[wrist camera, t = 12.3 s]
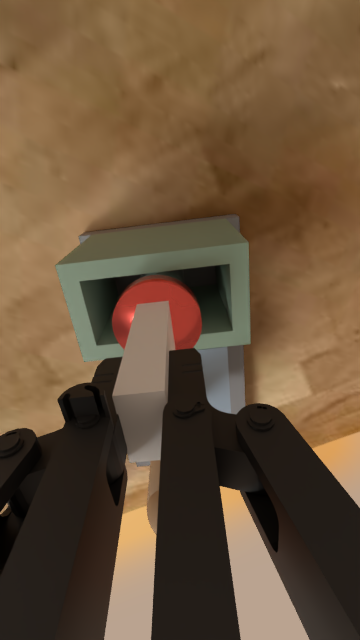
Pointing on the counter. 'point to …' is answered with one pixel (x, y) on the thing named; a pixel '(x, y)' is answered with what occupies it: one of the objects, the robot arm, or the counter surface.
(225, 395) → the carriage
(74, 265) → the track
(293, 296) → the counter surface
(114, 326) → the button
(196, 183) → the counter surface
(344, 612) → the robot arm
